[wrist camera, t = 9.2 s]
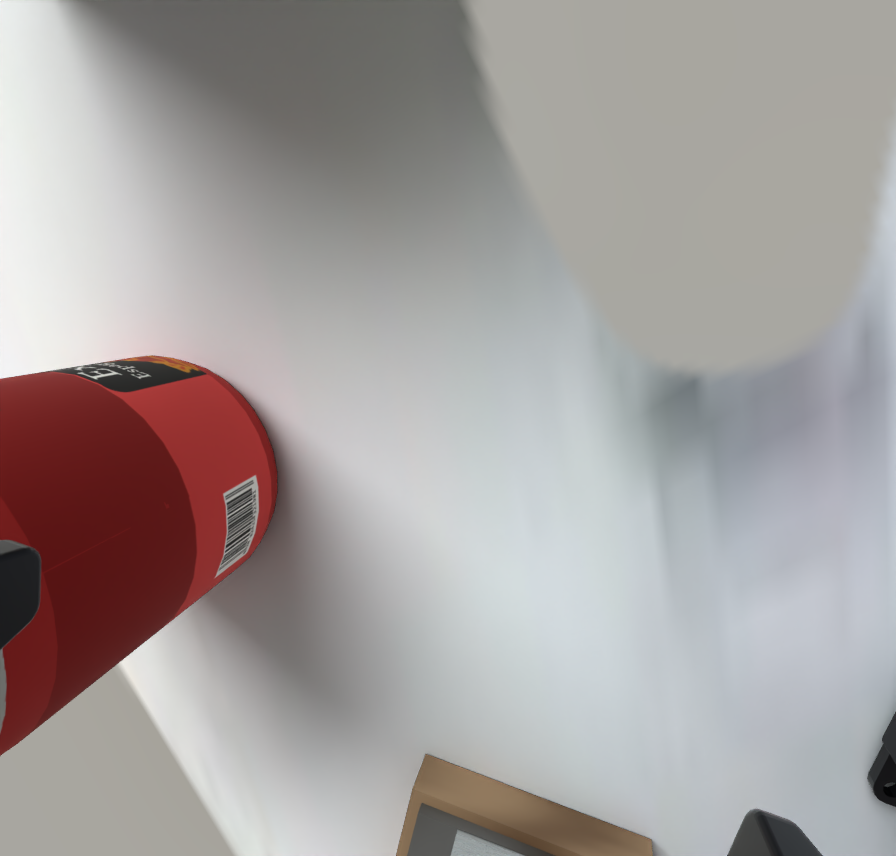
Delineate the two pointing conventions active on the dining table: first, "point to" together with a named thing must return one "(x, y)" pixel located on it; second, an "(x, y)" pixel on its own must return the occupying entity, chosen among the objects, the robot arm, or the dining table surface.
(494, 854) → the housing
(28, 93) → the dining table surface
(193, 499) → the canned food
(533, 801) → the stand
